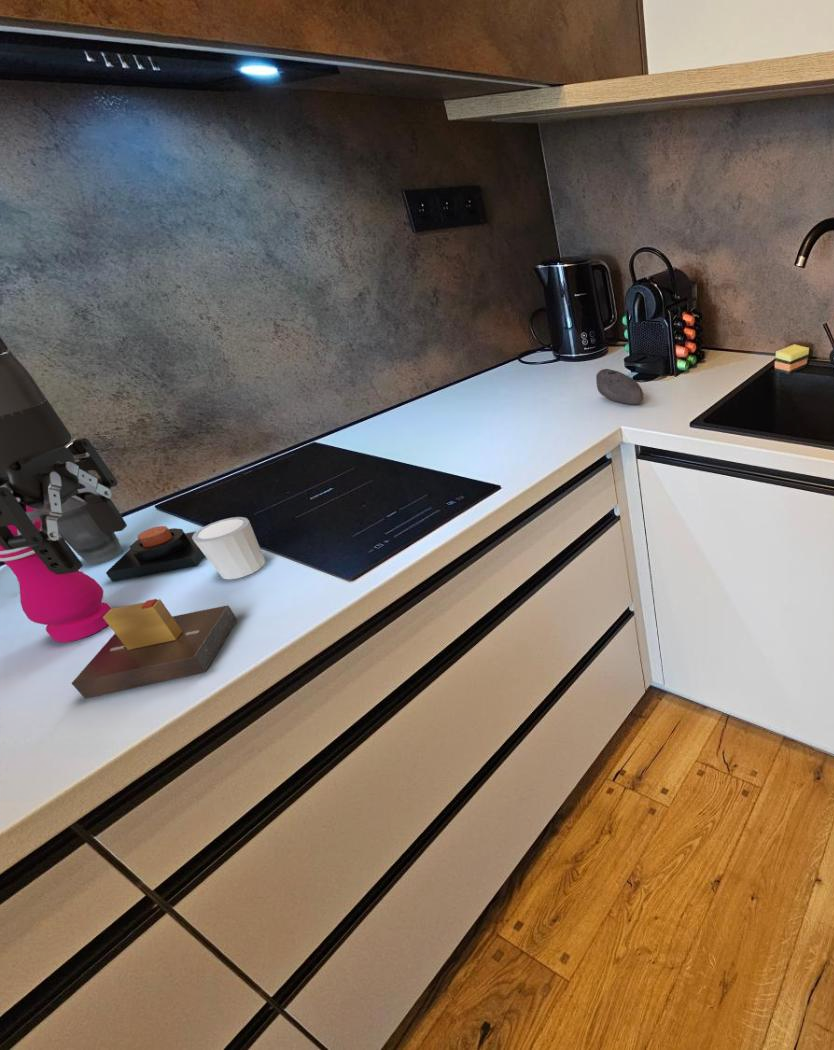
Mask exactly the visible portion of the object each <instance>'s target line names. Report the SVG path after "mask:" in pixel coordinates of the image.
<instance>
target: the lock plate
mask: <svg viewBox="0 0 834 1050" xmlns="http://www.w3.org/2000/svg"><path fill="white" fill-rule="evenodd" d="M171 616H172V617H173V619H174V620H175V621H176V623H177V624H178V626H179V627H180V629H181V630H182V633H181V634H180V636H179V637H178V638H177V640H173V641H169V642H164V643H159V644H154V645H149V646H145V647H140V648H135V649H130V650H128V649H127V648H126V647H125V646H124V644H123V643H122V642H121V640H120V639H119V638H118V636H117V635H116V634H115V633H114V634H113V635H112V636H111V637H109V638H110V639H108V640H107V642H106V643H105V644H104V645H103V646H102V648H101V649H100V650H99V651H98V652H97V653H96V654H95V655H94V657H93V658H92V659H91V660H89V662H88V663H87V665H85V667H84V668H83V669H82V670H81V672H80V673H79V674H78V675H77V676H76V678H75V679H74V680H73V681H72V682H71V684H72V686H73V687H74V688H75V690H77V692H78V693H79V694H80V695H81V696H82V698H83V699H90V698H95V697H100V696H104V695H108V694H113V693H118V692H122V691H126V690H131V689H134V688H135V689H136V688H141V687H144V686H149V685H153V684H158V683H164V682H167V681H171V680H177V679H181V678H186V677H189V676H194V675H198V674H199V675H200V674H204V673H206V672H207V671H208V669H209V667H210V665H212V663H213V660H214V659H215V657H216V655H217V654H218V652H219V651H220V650H221V648H222V646H223V644H224V642H225V641H226V639H227V638H228V636H229V635H230V632H231V631H232V630H233V628H234V626H235V625H236V623H237V622H238V618H237V617H236V614H235V613H234V612H233V610H232V608H231V606H230V605H228V604H227V605H222V606H217V607H211V608H207V609H202V610H197V611H191V612H187V613H183V614H177V615H171Z"/></svg>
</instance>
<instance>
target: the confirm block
mask: <svg viewBox="0 0 834 1050" xmlns="http://www.w3.org/2000/svg"><path fill="white" fill-rule="evenodd" d="M168 530H169V531H170V533H171V534H172V536H173V537H172V538H171V539H169V540H167V541H166V542H164V543H161V544H158V545H155V546H150V547H144V546H143V545H142V543H141V542H140V540H139V539H138V538H137V539H136V540H135V541H134V542H132V544H131V545H129V550H127V552H125V553H124V554H123V555H122V556H121V557H120V558H119V559H118V560H117V561H116V562H115V563H114V564H113V565H112V566H111V567H110V568H109V569H108V570H107V571H106V572H105V574H106V575H107V577H108V578H109V579H110V581H111V582H112V583H115V582H119V581H124V580H130V579H136V578H141V577H145V576H152V575H156V574H157V575H158V574H162V573H167V572H174V571H177V570H184V569H189V568H195V567H197V566H198V565H199V564H200V563H201V561H202V560H203V559H204V558H205V557H206V556H205V555H204V554H203V552H202V551H201V550H200V548H199V547H198V546H197V544H196V543H195V542H194V541H193V539H192V536H193V535H194V533H195V532H197V531H198V530H196V531H192V532H186V533H185V530H183V528H177V527H173V528H168Z"/></svg>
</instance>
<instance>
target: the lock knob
mask: <svg viewBox="0 0 834 1050" xmlns="http://www.w3.org/2000/svg"><path fill="white" fill-rule="evenodd" d="M172 616H173V615H172V614H171V613H170V611H169V610H168V609H167V607H166V605H165V604H164V602H163V601H162V600H161V599H157V598H153V599H148V600H146V601H144V602H139V603H134V604H129V605H124V606H118V607H113V608H111V609H110V610H109V611H108V612H107V613H106V614H105V615H104V617H103V618H104V619H105V621H106V622H107V623H108V625H107V626H108V627H110V629H111V631H112V632H113V633H114V634H116V635H117V636H118V638H119V639H120V640H121V642H122V643H123V644H124V646H125V647H126V648H127V649H128V650H130V649H135V648H140V647H145V646H149V645H154V644H159V643H164V642H169V641H173V640H177V638H178V637H179V636H180V634H181V633H182V630H181V629H180V627H179V626H178V624H177V623H176V621H175V620H174V619H173V617H172Z"/></svg>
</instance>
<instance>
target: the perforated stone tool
mask: <svg viewBox="0 0 834 1050" xmlns="http://www.w3.org/2000/svg"><path fill="white" fill-rule="evenodd" d="M595 378H596V379H595V380H596V381H595V382H596V388H597V391H598V392H599V394H600V395H601V396H603V397H604V398H606V399H608V400H609V401H613V402H617V403H619V404H620V403H621V404H626V405H632V406H636V405H637V406H638V405H640V404H642V402H643V400H644V392H643V389H642V387H641V386H640V385H639V383H638V382H637V381H636V380H635V379H633V378H632V377H630V376H628V375H627V374H625V373H624V372H620V371H619V370H613V369H610V368H604V369H601V370H599V371H598V372H597V373H596V376H595Z"/></svg>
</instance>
